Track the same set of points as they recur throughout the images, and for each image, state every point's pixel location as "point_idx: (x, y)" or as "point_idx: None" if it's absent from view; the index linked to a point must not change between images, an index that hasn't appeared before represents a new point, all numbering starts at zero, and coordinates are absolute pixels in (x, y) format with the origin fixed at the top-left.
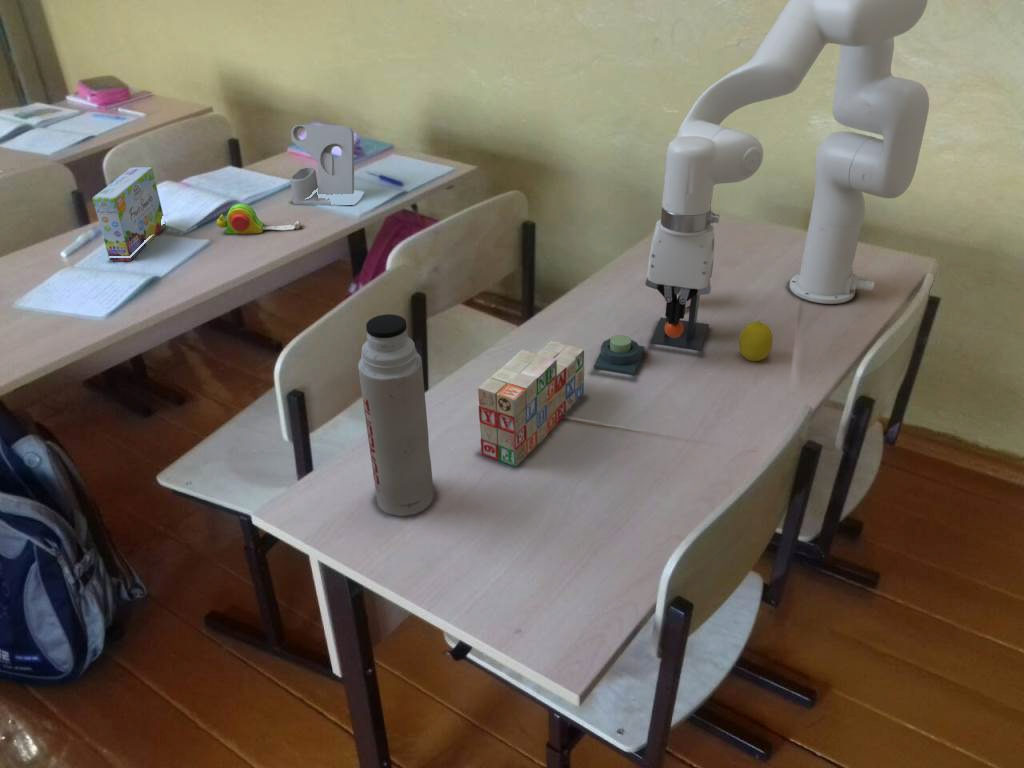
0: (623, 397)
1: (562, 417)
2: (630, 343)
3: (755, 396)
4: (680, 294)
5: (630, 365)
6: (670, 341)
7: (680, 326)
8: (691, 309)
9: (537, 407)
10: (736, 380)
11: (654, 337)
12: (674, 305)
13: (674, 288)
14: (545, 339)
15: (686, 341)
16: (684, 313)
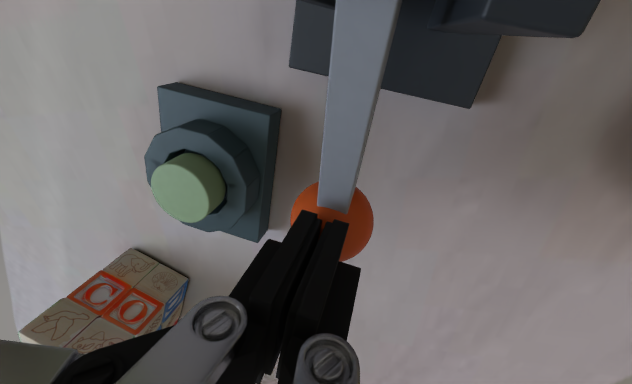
0: None
1: (176, 321)
2: (211, 207)
3: (573, 309)
4: (287, 376)
5: (245, 216)
6: None
7: (351, 257)
8: (450, 29)
9: None
10: (548, 242)
11: (300, 26)
12: (274, 364)
13: (218, 367)
14: (27, 45)
15: (425, 43)
16: (359, 275)
